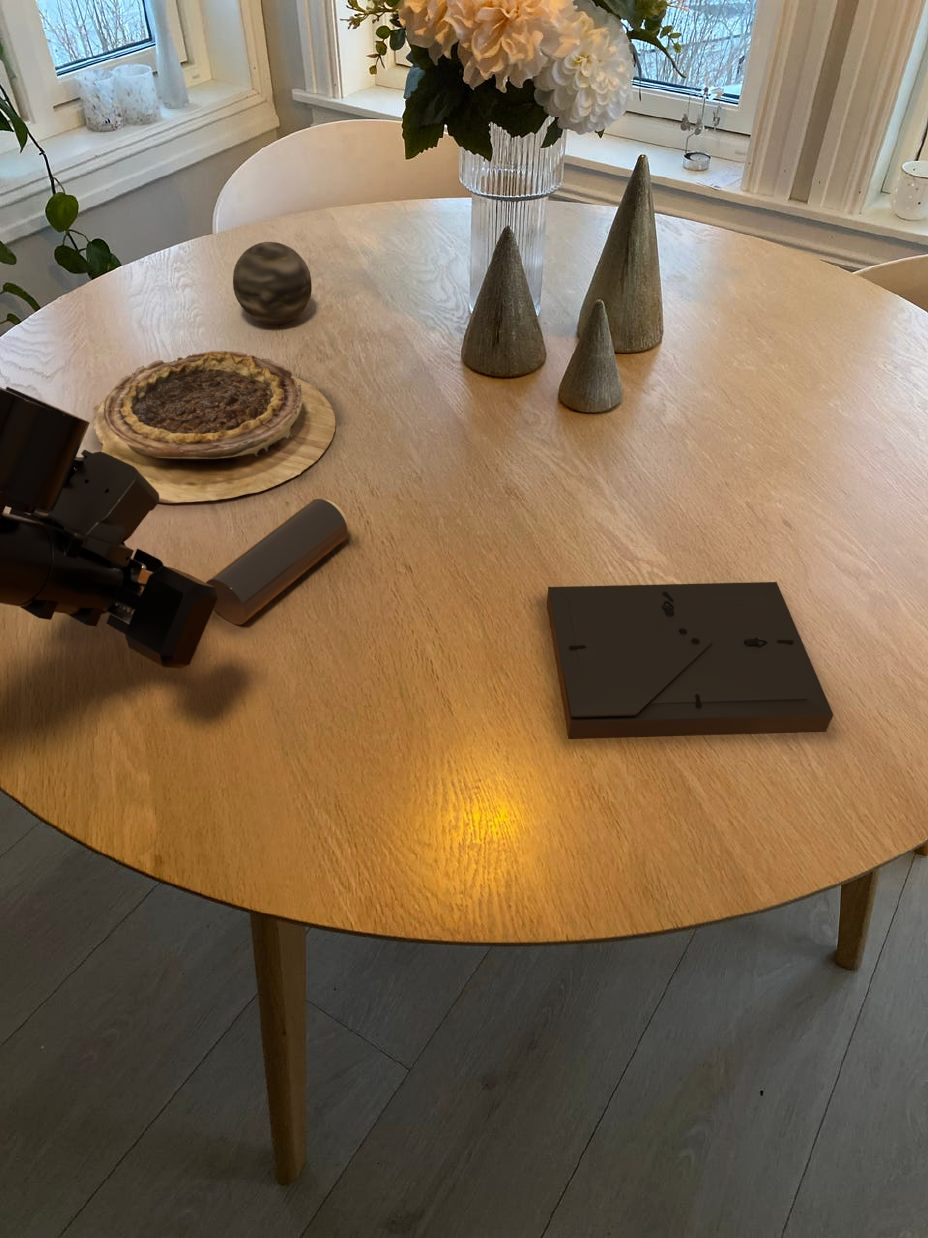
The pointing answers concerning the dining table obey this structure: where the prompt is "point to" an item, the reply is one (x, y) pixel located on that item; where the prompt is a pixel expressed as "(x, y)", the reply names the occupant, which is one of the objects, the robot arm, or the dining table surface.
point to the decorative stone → (272, 283)
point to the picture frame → (682, 661)
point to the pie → (214, 425)
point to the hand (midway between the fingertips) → (176, 595)
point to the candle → (278, 560)
